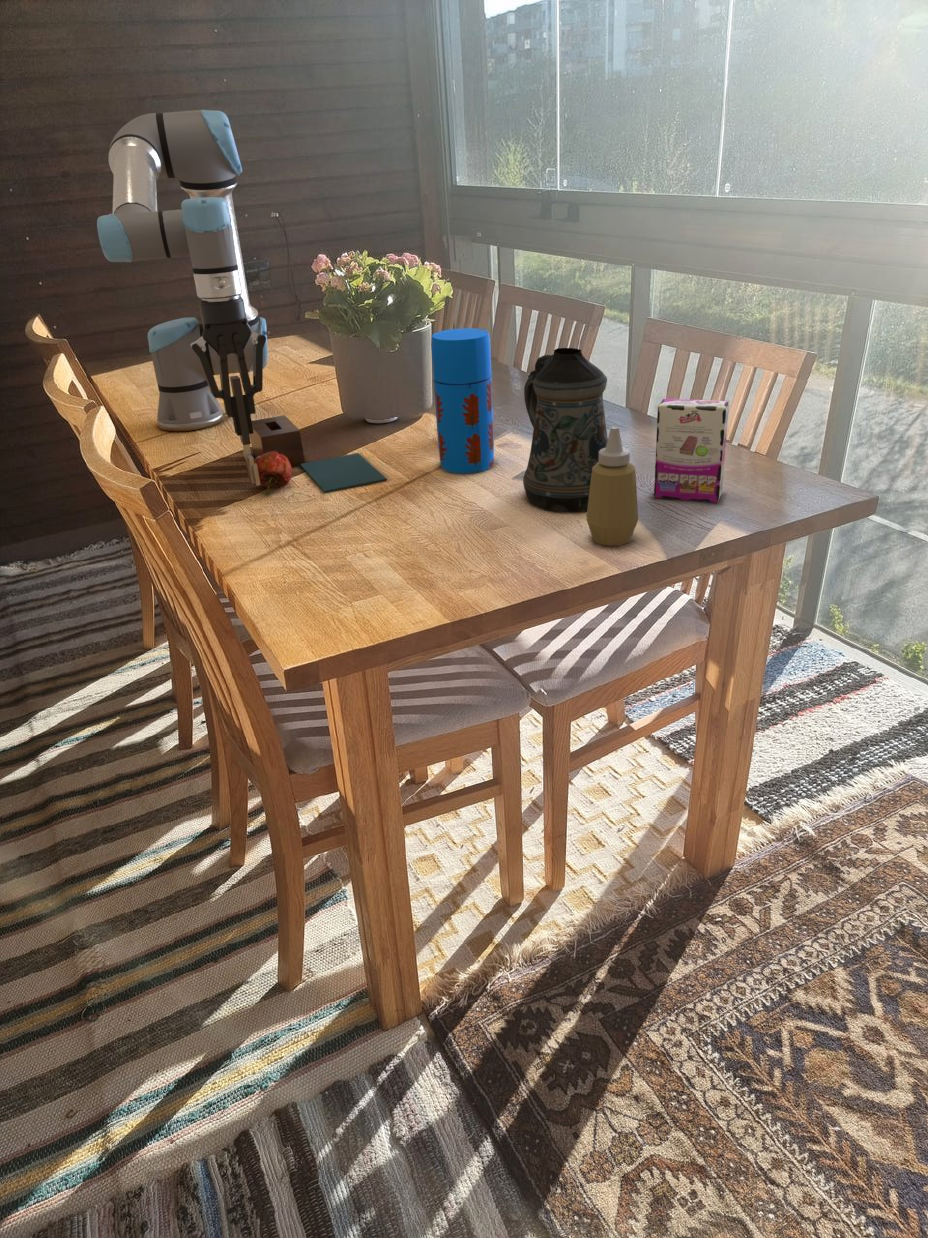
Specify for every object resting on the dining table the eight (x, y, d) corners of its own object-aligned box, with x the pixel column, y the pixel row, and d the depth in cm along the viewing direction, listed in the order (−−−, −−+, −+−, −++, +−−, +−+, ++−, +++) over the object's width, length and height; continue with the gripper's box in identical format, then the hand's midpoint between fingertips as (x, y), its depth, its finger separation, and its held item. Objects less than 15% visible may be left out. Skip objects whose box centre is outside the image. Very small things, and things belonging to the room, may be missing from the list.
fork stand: (253, 453, 188) (247, 421, 184) (289, 447, 190) (284, 415, 187) (266, 470, 177) (260, 437, 174) (305, 463, 180) (300, 430, 176)
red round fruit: (291, 504, 166) (305, 459, 170) (271, 482, 160) (286, 437, 164) (259, 504, 169) (273, 460, 173) (237, 483, 163) (253, 438, 167)
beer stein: (592, 519, 146) (595, 367, 134) (492, 501, 156) (486, 358, 144) (631, 487, 158) (637, 344, 146) (536, 472, 168) (534, 337, 156)
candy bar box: (722, 493, 153) (731, 399, 145) (718, 503, 149) (727, 408, 141) (657, 488, 157) (662, 396, 149) (652, 498, 153) (657, 404, 145)
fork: (245, 477, 168) (227, 374, 159) (254, 476, 169) (236, 373, 159) (252, 486, 164) (234, 381, 154) (260, 485, 164) (243, 379, 155)
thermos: (501, 457, 177) (497, 328, 164) (484, 475, 168) (478, 340, 156) (450, 454, 180) (442, 327, 168) (431, 471, 171) (421, 339, 159)
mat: (300, 465, 179) (299, 463, 179) (358, 454, 183) (358, 452, 183) (324, 492, 164) (324, 490, 164) (386, 480, 168) (386, 478, 168)
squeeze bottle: (581, 531, 142) (582, 421, 134) (630, 527, 143) (634, 417, 134) (591, 551, 135) (593, 437, 127) (643, 547, 136) (649, 433, 127)
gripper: (180, 305, 145) (207, 444, 156) (267, 295, 150) (287, 431, 161) (174, 299, 151) (201, 433, 162) (258, 290, 156) (278, 421, 167)
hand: (244, 432), depth 162 cm, fingers closed on fork, 1 cm apart
